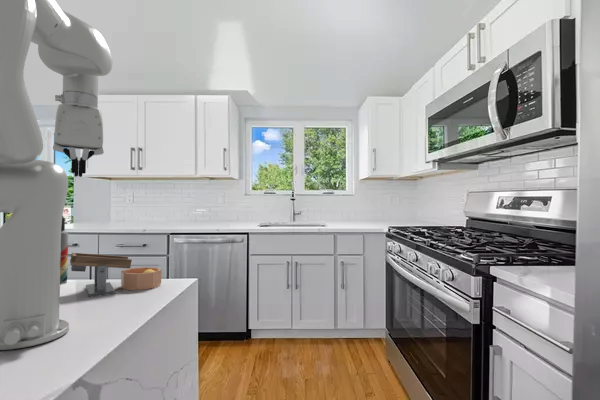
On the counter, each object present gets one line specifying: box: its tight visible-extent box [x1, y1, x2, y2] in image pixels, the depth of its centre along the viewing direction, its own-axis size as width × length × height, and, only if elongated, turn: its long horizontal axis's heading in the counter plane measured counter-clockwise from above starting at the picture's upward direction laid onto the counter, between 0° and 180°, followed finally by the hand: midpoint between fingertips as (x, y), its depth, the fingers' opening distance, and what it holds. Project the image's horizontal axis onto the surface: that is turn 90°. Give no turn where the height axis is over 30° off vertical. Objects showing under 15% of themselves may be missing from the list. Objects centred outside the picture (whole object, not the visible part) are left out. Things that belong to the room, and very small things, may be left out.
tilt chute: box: [69, 252, 132, 273], centre depth 99 cm, size 15×14×4 cm
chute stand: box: [85, 265, 116, 298], centre depth 96 cm, size 12×6×8 cm, turn 35°
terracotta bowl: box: [120, 266, 162, 291], centre depth 102 cm, size 10×10×4 cm
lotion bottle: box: [60, 215, 69, 285], centre depth 104 cm, size 6×6×20 cm
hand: (78, 176), depth 87 cm, fingers closed
